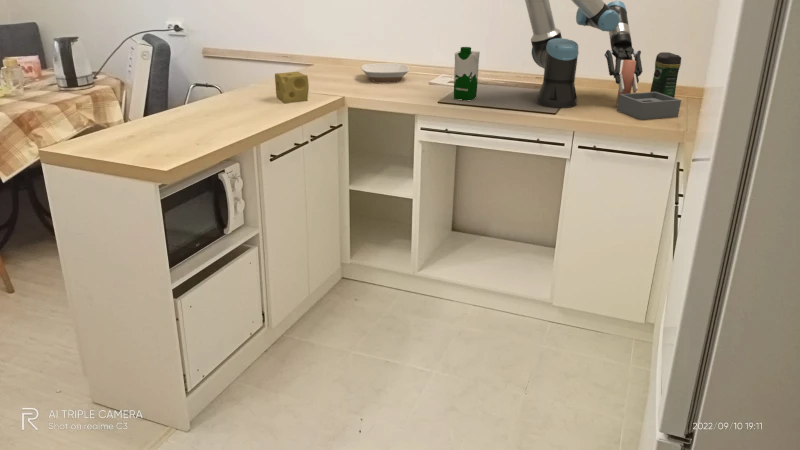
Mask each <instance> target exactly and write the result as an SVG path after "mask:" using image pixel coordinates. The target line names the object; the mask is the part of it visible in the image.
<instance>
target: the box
mask: <svg viewBox="0 0 800 450" xmlns="http://www.w3.org/2000/svg"><path fill="white" fill-rule="evenodd" d="M681 103H682V99H678V98H676V97H674V98H673V97H670V96H667V95H664V94H661V93H658V92H650V91H645V92H635V93H633V92H631V93H630V94H619V97H618V104H617V103H616V104H617V106H616V111H617V112H619V113H622V114H625V115H627V116H629V117H632V118H634V119H637V120H639V119H640V120H639V121H642V120H653V119H666V118H677V117H678V116H679V114H680V113H679V112H680V108H681Z"/></svg>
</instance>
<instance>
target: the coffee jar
mask: <svg viewBox="0 0 800 450" xmlns="http://www.w3.org/2000/svg"><path fill="white" fill-rule="evenodd" d="M654 62H655V63H654V73H653V77H652V83H651V86H650V91H649V92H658V93H661V94H664V95H667V96H670V97H673V98H676V89H677V81H678V76H679V70H680V68H681V65H682V56H680V55H678V54H675V53H671V52H667V51H666V52H665V51H663V52H661V51H660V52H659V53H658V54H657V55H656V57H655V61H654Z"/></svg>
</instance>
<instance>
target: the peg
mask: <svg viewBox="0 0 800 450" xmlns="http://www.w3.org/2000/svg"><path fill="white" fill-rule="evenodd" d="M635 65H636V61H635V59H633V60H622V68H621V71H620V74H622V77H623V83H624V90H623V91H622V93H620V91H619V89H618V91H617V92H618V93H617V98H616V103H615V104H618V97H619V94H630V93H632V89H633V88H632V83H633V77H634V71H635Z"/></svg>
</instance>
